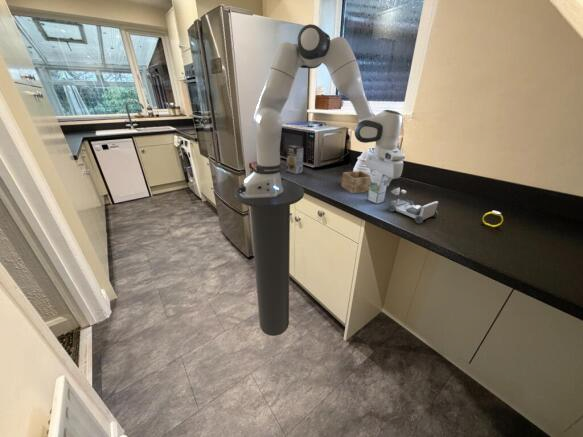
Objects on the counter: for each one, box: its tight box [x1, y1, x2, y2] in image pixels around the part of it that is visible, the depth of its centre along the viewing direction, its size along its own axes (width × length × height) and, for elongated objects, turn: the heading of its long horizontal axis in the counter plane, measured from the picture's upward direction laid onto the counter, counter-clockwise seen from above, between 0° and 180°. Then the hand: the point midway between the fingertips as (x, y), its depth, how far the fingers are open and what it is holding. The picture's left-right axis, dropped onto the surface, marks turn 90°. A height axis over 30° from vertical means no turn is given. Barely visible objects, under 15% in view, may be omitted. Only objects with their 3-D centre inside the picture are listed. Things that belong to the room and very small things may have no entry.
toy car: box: [387, 186, 439, 224], centre depth 98 cm, size 18×10×12 cm
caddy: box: [340, 171, 371, 194], centre depth 123 cm, size 11×11×8 cm
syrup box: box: [366, 170, 388, 205], centre depth 108 cm, size 6×6×14 cm
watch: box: [481, 210, 504, 228], centre depth 90 cm, size 6×3×6 cm, turn 48°
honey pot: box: [352, 146, 374, 176], centre depth 138 cm, size 13×13×18 cm
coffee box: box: [286, 144, 304, 175], centre depth 148 cm, size 9×6×16 cm
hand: (379, 182), depth 107 cm, fingers open, 8 cm apart
